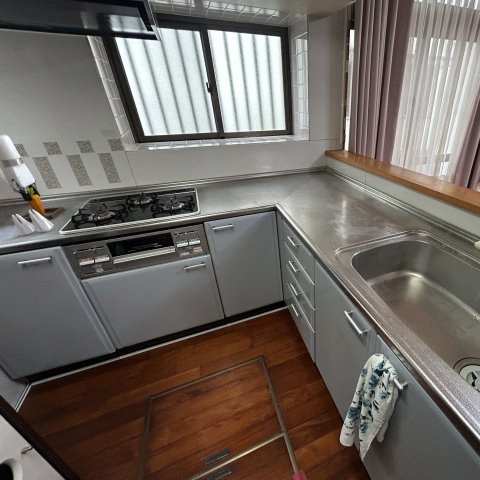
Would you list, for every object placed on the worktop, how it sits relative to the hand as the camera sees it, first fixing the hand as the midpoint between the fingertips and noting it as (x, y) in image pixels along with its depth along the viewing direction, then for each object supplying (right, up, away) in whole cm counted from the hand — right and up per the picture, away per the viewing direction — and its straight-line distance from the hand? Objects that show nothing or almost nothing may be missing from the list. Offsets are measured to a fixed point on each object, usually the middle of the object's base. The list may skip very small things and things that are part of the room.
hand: (32, 198), depth 135 cm
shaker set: (+14, -18, -11) cm, 25 cm away
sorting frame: (0, -8, +5) cm, 10 cm away
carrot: (0, -9, +5) cm, 10 cm away
